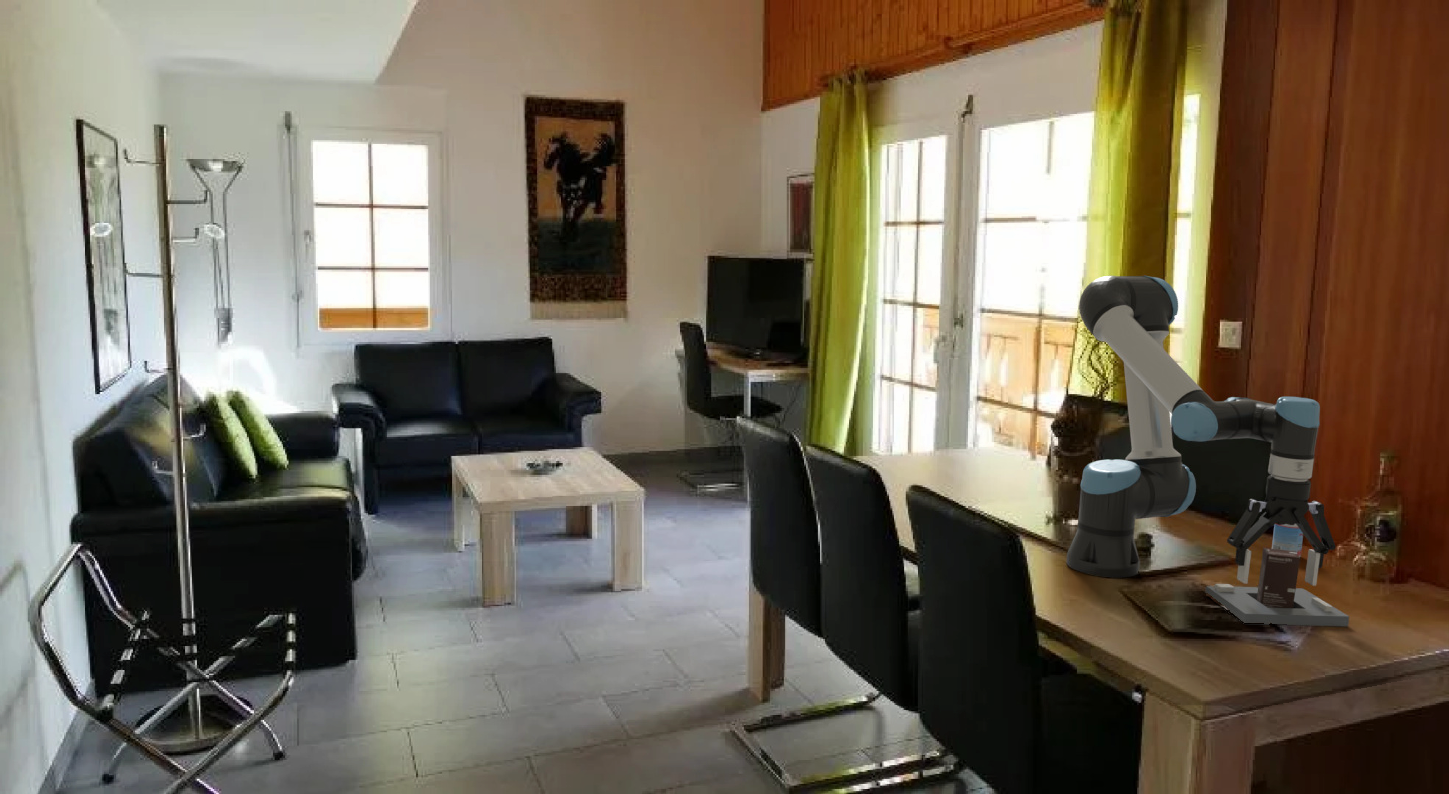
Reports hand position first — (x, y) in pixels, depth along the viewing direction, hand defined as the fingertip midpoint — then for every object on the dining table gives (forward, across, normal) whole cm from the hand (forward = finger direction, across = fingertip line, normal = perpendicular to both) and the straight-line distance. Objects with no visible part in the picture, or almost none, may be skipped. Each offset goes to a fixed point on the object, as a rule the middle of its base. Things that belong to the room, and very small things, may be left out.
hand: (1276, 582), depth 209 cm
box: (+6, 0, 0) cm, 6 cm away
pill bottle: (+6, +23, +38) cm, 45 cm away
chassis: (+6, 0, 0) cm, 6 cm away
